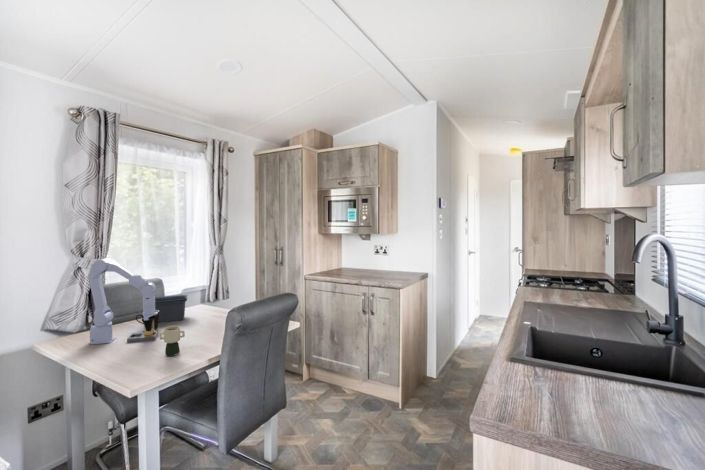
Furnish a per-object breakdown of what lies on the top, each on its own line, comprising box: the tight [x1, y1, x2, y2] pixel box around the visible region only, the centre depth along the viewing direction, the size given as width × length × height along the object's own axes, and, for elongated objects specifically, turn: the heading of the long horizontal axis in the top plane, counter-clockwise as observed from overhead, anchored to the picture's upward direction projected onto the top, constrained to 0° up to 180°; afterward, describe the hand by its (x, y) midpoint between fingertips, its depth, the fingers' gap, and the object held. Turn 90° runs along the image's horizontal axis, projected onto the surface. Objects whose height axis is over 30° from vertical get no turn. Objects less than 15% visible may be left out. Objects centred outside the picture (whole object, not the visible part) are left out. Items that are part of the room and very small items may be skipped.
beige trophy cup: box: [158, 325, 186, 357], centre depth 170 cm, size 11×7×13 cm, turn 110°
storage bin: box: [155, 294, 188, 323], centre depth 228 cm, size 21×16×14 cm
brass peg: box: [143, 320, 155, 336], centre depth 193 cm, size 4×4×9 cm
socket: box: [126, 331, 159, 343], centre depth 192 cm, size 13×9×2 cm
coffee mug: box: [135, 310, 159, 330], centre depth 210 cm, size 12×9×10 cm
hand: (149, 329), depth 193 cm, fingers closed on brass peg, 4 cm apart
